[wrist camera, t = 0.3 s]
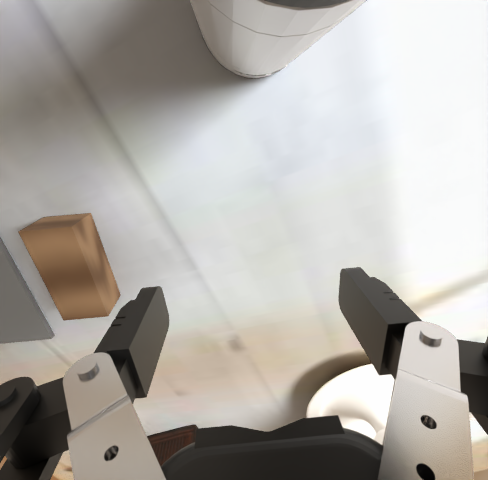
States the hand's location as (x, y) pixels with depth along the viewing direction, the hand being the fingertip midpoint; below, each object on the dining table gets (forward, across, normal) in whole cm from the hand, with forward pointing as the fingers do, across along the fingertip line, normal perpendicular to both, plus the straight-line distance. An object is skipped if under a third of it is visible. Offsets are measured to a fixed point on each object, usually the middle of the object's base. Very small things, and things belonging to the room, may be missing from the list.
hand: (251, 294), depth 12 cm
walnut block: (+18, +19, +6) cm, 26 cm away
